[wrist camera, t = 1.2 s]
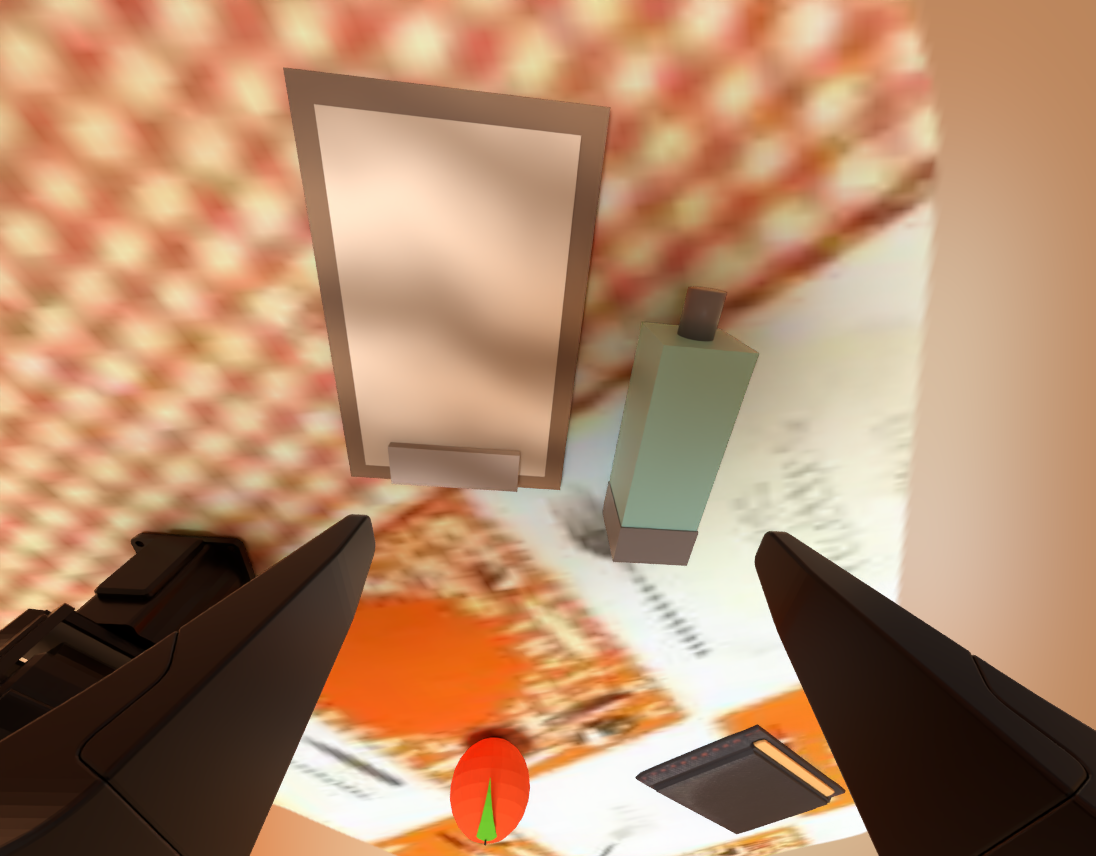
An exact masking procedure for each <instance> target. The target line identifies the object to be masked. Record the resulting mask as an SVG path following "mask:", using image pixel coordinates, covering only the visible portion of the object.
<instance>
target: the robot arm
mask: <svg viewBox="0 0 1096 856" xmlns="http://www.w3.org/2000/svg"><path fill="white" fill-rule="evenodd" d="M131 544H132V546H133V548H134V549H135V551H136V553H137V554H136V555H134V556H133V557H132V558H131V559H130V560H129V561H127V562H126V563H125V564H124V565H123V566H121V567H120V568H119V569H118V570H117V571H115V572H114V573H113V574H112V575H111V576H110V577H108V578H107V579H106V580H105V581H104V582H102V583H101V584H100V585H99V586H98V587H97V588H96V589H95V590H94V592H95V594H96V595H95V596H94V597H92V598H91V599H90V600H89V601H88V602H87V603H85V604H84V605H83V606H82V607H81V608H80V609H78V610H77V611H74V610H75V608H73V607H72V606H70V605H68V604H66V603H64V604H62V605H61V606H59V607H58V608H56V609H55V610H53V611H52V612H50V611H48V610H46V611H44V610H36V609H28V610H26V611H25V612H24V613H22V614H21V615H20V616H18V617H17V618H16V619H14V620H13V621H12V622H11V623H9V624H8V625H7V626H5V627H4V628H3V629H1V630H0V856H250V853H251V851H252V849H253V847H254V845H255V842H256V840H257V838H258V835H259V833H260V831H261V829H262V826H263V824H264V822H265V819H266V817H267V815H268V812H269V810H270V808H271V806H272V804H273V801H274V799H275V797H276V794H277V792H278V790H279V788H280V785H281V783H282V781H283V778H284V776H285V774H286V772H287V769H288V767H289V765H290V763H291V760H292V758H293V756H294V753H295V751H296V749H297V747H298V744H299V742H300V740H301V737H302V735H303V733H304V731H305V728H306V726H307V724H308V721H309V719H310V717H311V715H312V712H313V710H314V708H315V706H316V703H317V701H318V699H319V696H320V694H321V692H322V690H323V687H324V685H325V683H326V680H327V678H328V676H329V674H330V671H331V669H332V667H333V665H334V662H335V660H336V658H337V655H338V653H339V651H340V649H341V646H342V644H343V642H344V639H345V637H346V635H347V633H348V630H349V628H350V626H351V623H352V621H353V618H354V615H355V612H356V609H357V606H358V603H359V600H360V597H361V594H362V591H363V587H364V584H365V581H366V578H367V575H368V572H369V568H370V565H371V562H372V559H373V556H374V552H375V538H374V533H373V528H372V523H371V519H370V517H369V516H367V515H353V514H352V515H348V516H346V517H345V518H343V519H342V520H340V521H339V522H337V523H336V524H334V525H333V526H331V527H330V528H328V529H327V530H326V531H324V532H323V533H321V534H320V535H318V536H317V537H315V538H314V539H312V540H311V541H309V542H308V543H306V544H305V545H303V546H302V547H300V548H299V549H297V550H296V551H294V552H293V553H291V554H290V555H288V556H287V557H285V558H284V559H282V560H281V561H279V562H278V563H276V564H275V565H273V566H272V567H270V568H269V569H267V570H266V571H264V572H263V573H261V574H260V575H259V576H257V577H256V578H255V575H254V572H253V569H252V566H251V564H250V561H249V558H248V555H247V552H246V549H245V547H244V544H243V543H242V542H241V541H240V540H238V539H234V538H216V537H198V536H180V535H162V534H143V533H142V534H138V535H137V536H135V537H134V538H133V539H132V540H131ZM755 567H756V571H757V574H758V577H759V580H760V582H761V585H762V588H763V591H764V594H765V597H766V600H767V603H768V606H769V609H770V612H771V615H772V618H773V621H774V624H775V626H776V629H777V632H778V634H779V636H780V639H781V641H782V643H783V645H784V648H785V650H786V652H787V654H788V657H789V659H790V661H791V663H792V665H793V668H794V670H795V672H796V674H797V676H798V679H799V681H800V683H801V685H802V687H803V690H804V692H805V694H806V696H807V699H808V701H809V703H810V705H811V707H812V710H813V712H814V714H815V716H816V718H817V721H818V723H819V725H820V727H821V729H822V732H823V734H824V736H825V738H826V740H827V743H828V745H829V747H830V749H831V752H832V754H833V756H834V758H835V760H836V763H837V765H838V767H839V769H840V771H841V774H842V776H843V778H844V780H845V782H846V785H847V787H848V789H849V791H850V794H851V796H852V798H853V800H854V802H855V805H856V807H857V809H858V811H859V813H860V816H861V818H862V820H863V822H864V824H865V827H866V829H867V831H868V833H869V835H870V838H871V840H872V842H873V844H874V846H875V849H876V851H877V853H878V855H879V856H1096V730H1094V729H1092V728H1091V727H1089V726H1087V725H1086V724H1084V723H1082V722H1081V721H1079V720H1077V719H1075V718H1074V717H1072V716H1071V715H1069V714H1067V713H1066V712H1064V711H1063V710H1061V709H1059V708H1058V707H1056V706H1054V705H1053V704H1051V703H1049V702H1048V701H1046V700H1044V699H1043V698H1041V697H1039V696H1038V695H1036V694H1035V693H1033V692H1032V691H1030V690H1028V689H1027V688H1025V687H1024V686H1022V685H1021V684H1019V683H1017V682H1016V681H1014V680H1013V679H1011V678H1010V677H1008V676H1007V675H1005V674H1003V673H1002V672H1000V671H999V670H997V669H995V668H994V667H993V666H991V665H989V664H988V663H987V662H985V661H983V660H982V659H980V658H979V657H977V656H976V655H971V653H970V652H969V651H968V650H966V649H965V648H963V647H962V646H960V645H959V644H957V643H956V642H954V641H953V640H951V639H950V638H948V637H947V636H945V635H943V634H942V633H940V632H939V631H937V630H936V629H934V628H933V627H931V626H930V625H928V624H926V623H925V622H924V621H922V620H920V619H919V618H917V617H916V616H914V615H913V614H911V613H910V612H908V611H907V610H905V609H904V608H902V607H901V606H899V605H897V604H896V603H894V602H893V601H891V600H890V599H888V598H887V597H885V596H884V595H882V594H881V593H879V592H878V591H876V590H874V589H873V588H871V587H870V586H868V585H867V584H865V583H864V582H862V581H861V580H859V579H858V578H856V577H855V576H853V575H851V574H850V573H848V572H847V571H845V570H844V569H842V568H841V567H839V566H838V565H836V564H835V563H833V562H832V561H830V560H828V559H827V558H825V557H824V556H822V555H821V554H819V553H818V552H816V551H815V550H813V549H812V548H810V547H809V546H807V545H805V544H804V543H802V542H801V541H799V540H798V539H796V538H795V537H793V536H792V535H790V534H788V533H786V532H779V531H769V532H767V533H766V534H765V535H764V537H763V539H762V541H761V544H760V546H759V548H758V551H757V553H756V556H755ZM21 657H23V658H25V659H27V660H28V661H27V662H25V663H24V662H22V661H20V660H19V659H20V658H21Z"/></svg>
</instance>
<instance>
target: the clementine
mask: <svg viewBox="0 0 1096 856" xmlns="http://www.w3.org/2000/svg"><path fill="white" fill-rule="evenodd" d="M529 791H530V783H529V773H528V769H527V765H526V762H525V759H524V758H523V756H522V755H521V753H520V752H519V750H518V749H517V748H516V747H515V746H514V745H513V744H511V743H510V742H509V741H507V740H505V739H502V738H495V737H494V738H485V739H482V740H480V741H479V742H477V743H475V744H474V745H472V746H471V747H470V748H469V749H468V750H467V751H466V752H465V754H464V755H463V756H462V757H461V758H460V760H459V762H458V764H457V766H456V768H455V771H454V775H453V779H452V783H451V791H450V802H451V808H452V813H453V816H454V818H455V820H456V823H457V825H458V827H459V828H460V830H461V831H462V832H463V833H464V834H465V835H466V836H467V837H468V838H469V839H470V840H472V841H474V842H478V843H484V845H486V843H495V842H499V841H501V840H503V839H504V838H505V837H506V836H507V835H509V834H510V833H511V832H512V831H513V830H514V829H515V828H516V827H517V825H518V823H519V822H520V820H521V819H522V817H523V814H524V812H525V809H526V806H527V803H528V799H529Z"/></svg>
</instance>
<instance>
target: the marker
mask: <svg viewBox="0 0 1096 856" xmlns="http://www.w3.org/2000/svg"><path fill="white" fill-rule="evenodd" d="M726 295H727V292H725V291H721V290H717V289H712V288H705V287H688V291H687V295H686V299H685V303H684V307H683V311H682V315H681V319H680V323H679V325H671V324H661V323H650V322H642V323H641V328H640V333H639V338H638V343H637V348H636V353H635V358H634V363H633V368H632V373H631V378H630V383H629V388H628V393H627V398H626V403H625V408H624V412H623V417H622V422H621V427H620V432H619V437H618V442H617V447H616V452H615V457H614V462H613V467H612V472H611V477H610V481H609V482H608V487H607V492H606V497H605V502H604V507H603V517H604V522H605V526H606V531H607V536H608V541H609V546H610V550H611V555H612V560H613V562H629V563H647V564H666V565H684V566H687V563H688V560H689V558H690V555H691V552H692V549H693V546H694V543H695V541H696V538H697V535H698V531H697V529H698V526H699V523H700V521H701V518H702V515H703V512H704V509H705V506H706V504H707V501H708V498H709V495H710V492H711V489H712V486H713V484H714V481H715V478H716V475H717V472H718V469H719V467H720V464H721V461H722V458H723V455H724V452H725V449H726V447H727V444H728V441H729V438H730V435H731V432H732V430H733V427H734V424H735V421H736V418H737V415H738V412H739V410H740V407H741V404H742V401H743V398H744V395H745V393H746V390H747V387H748V384H749V381H750V378H751V376H752V373H753V370H754V367H755V364H756V361H757V358H758V356H759V353H758V352H756V351H754V350H753V349H751V348H750V347H748V346H747V345H745V344H743V343H742V342H740V341H739V340H737V339H736V338H734V337H733V336H731V335H729V334H728V333H726V332H725V331H723V330H722V329H717V326H718V323H719V319H720V316H721V312H722V309H723V306H724V302H725V299H726Z"/></svg>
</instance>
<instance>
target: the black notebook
mask: <svg viewBox="0 0 1096 856" xmlns="http://www.w3.org/2000/svg"><path fill="white" fill-rule="evenodd" d="M635 778H636V779H637V780H639V781H640V782H642V783H644V784H645V785H647V786H649V787H651V788H653V789H654V790H656V791H657V792H659V793H661V794H662V795H664V796H666V797H668V798H670V799H672V800H674V801H676V802H677V803H679V804H681V805H683V806H685V807H687V808H689V809H690V810H692V811H694V812H696V813H698V814H700V815H702V816H704V817H705V818H707V819H709V820H711V821H713V822H715V823H717V824H719V825H720V826H722V827H724V828H726V829H728V830H730V831H732V832H734V833H735V834H739V833H742V832H746V831H749V830H752V829H755V828H758V827H761V826H764V825H767V824H770V823H773V822H776V821H779V820H782V819H786V818H789V817H792V816H795V815H798V814H801V813H804V812H807V811H810V810H813V809H815V808H817V807H820V806H823V805H826V804H827V803H829V802H830V800H831V797H834V796H837V795H840V794H843V793H845V790H844V789H843V788H842V787H841V786H840V785H839V784H837V783H836V782H834V781H833V780H831V779H830V778H828V777H827V776H825V775H824V774H823V773H821V772H820V771H819V770H817V769H816V768H815V767H813V766H812V765H811V764H809V763H808V762H807V761H805V760H804V759H803V758H801V757H800V756H799V755H797V754H796V753H795V752H793V751H792V750H791V749H789V748H788V747H787V746H785V745H784V744H783V743H781V742H780V741H779V740H777V739H776V738H775V737H773V736H772V735H771V734H769V733H768V732H767V731H765V730H764V729H763V728H761V727H760V726H759V725H755V726H753V727H751V728H748V729H746V730H744V731H741V732H738V733H735V734H733V735H730V736H727V737H725V738H722V739H720V740H717V741H715V742H712V743H710V744H708V745H705V746H703V747H700V748H698V749H695V750H693V751H691V752H688V753H686V754H683V755H681V756H678V757H676V758H674V759H671V760H669V761H666V762H664V763H662V764H659V765H657V766H654V767H652V768H650V769H648V770H645V771H643V772H641V773H640V774H639V775H637V776H636V777H635Z"/></svg>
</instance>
